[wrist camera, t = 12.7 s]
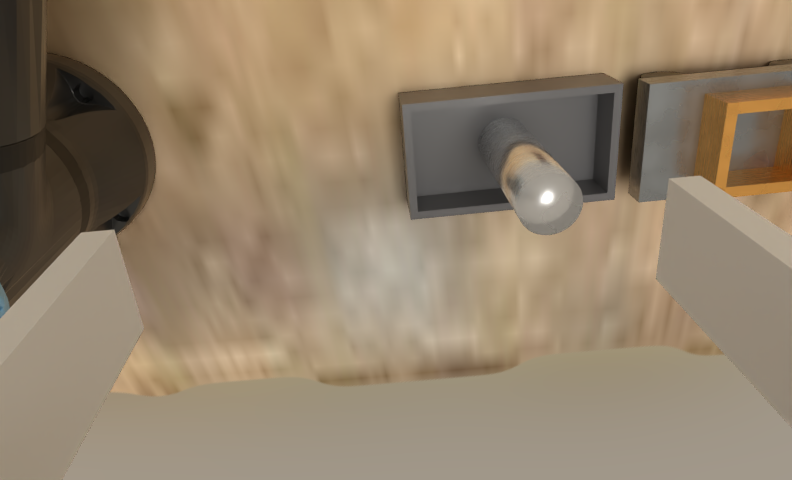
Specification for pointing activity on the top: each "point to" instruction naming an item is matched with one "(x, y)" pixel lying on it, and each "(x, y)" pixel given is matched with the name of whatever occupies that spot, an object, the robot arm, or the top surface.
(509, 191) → the pin
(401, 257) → the top surface
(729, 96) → the plate with orange frame
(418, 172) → the pin tray
